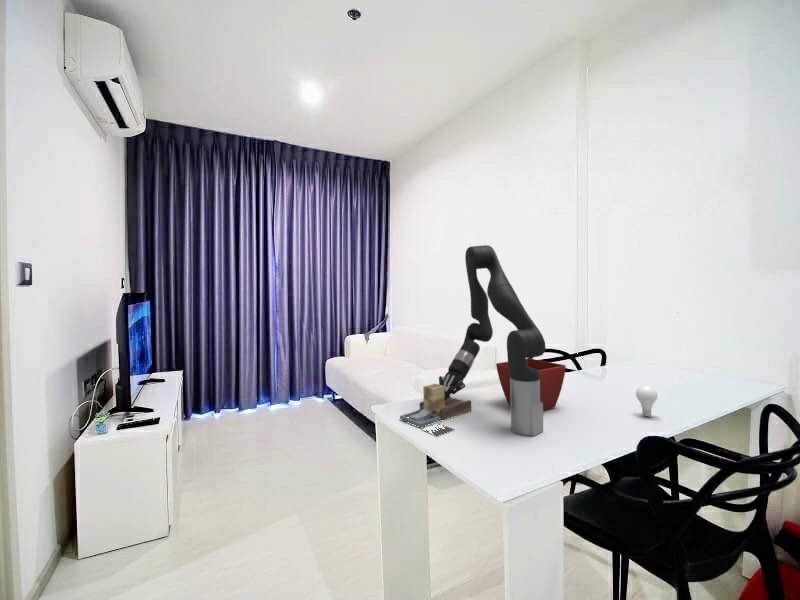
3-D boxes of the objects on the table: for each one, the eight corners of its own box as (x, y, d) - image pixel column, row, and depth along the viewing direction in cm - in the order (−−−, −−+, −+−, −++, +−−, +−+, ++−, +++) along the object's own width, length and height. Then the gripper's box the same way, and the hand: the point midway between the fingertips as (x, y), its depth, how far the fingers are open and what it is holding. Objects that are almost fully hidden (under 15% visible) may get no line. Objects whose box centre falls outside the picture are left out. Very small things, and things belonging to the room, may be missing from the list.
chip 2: (433, 414, 133) (432, 410, 133) (426, 420, 131) (425, 416, 130) (426, 411, 136) (425, 407, 136) (418, 417, 134) (417, 413, 133)
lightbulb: (648, 420, 126) (647, 389, 125) (631, 414, 132) (631, 384, 131) (662, 418, 127) (661, 387, 127) (645, 412, 133) (645, 383, 133)
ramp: (471, 410, 140) (471, 400, 140) (442, 421, 130) (442, 410, 130) (448, 403, 150) (448, 394, 150) (419, 413, 140) (419, 402, 139)
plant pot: (495, 404, 148) (494, 362, 148) (529, 396, 157) (528, 357, 156) (532, 418, 131) (531, 371, 131) (567, 409, 140) (567, 365, 139)
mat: (454, 430, 122) (454, 429, 122) (437, 436, 117) (437, 435, 117) (437, 423, 128) (437, 422, 128) (420, 429, 123) (420, 428, 123)
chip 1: (416, 418, 128) (416, 423, 128) (424, 416, 131) (424, 420, 131) (408, 416, 131) (409, 420, 131) (417, 413, 134) (417, 417, 134)
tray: (440, 421, 131) (440, 416, 130) (420, 428, 124) (420, 423, 124) (420, 413, 139) (420, 409, 139) (400, 419, 133) (399, 415, 133)
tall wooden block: (444, 407, 136) (444, 386, 136) (433, 411, 133) (432, 389, 132) (435, 404, 140) (434, 383, 140) (423, 407, 136) (423, 386, 136)
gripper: (445, 356, 149) (423, 391, 142) (470, 360, 139) (448, 399, 132) (454, 366, 153) (434, 402, 145) (479, 372, 142) (458, 410, 135)
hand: (441, 400), depth 139 cm, fingers closed
